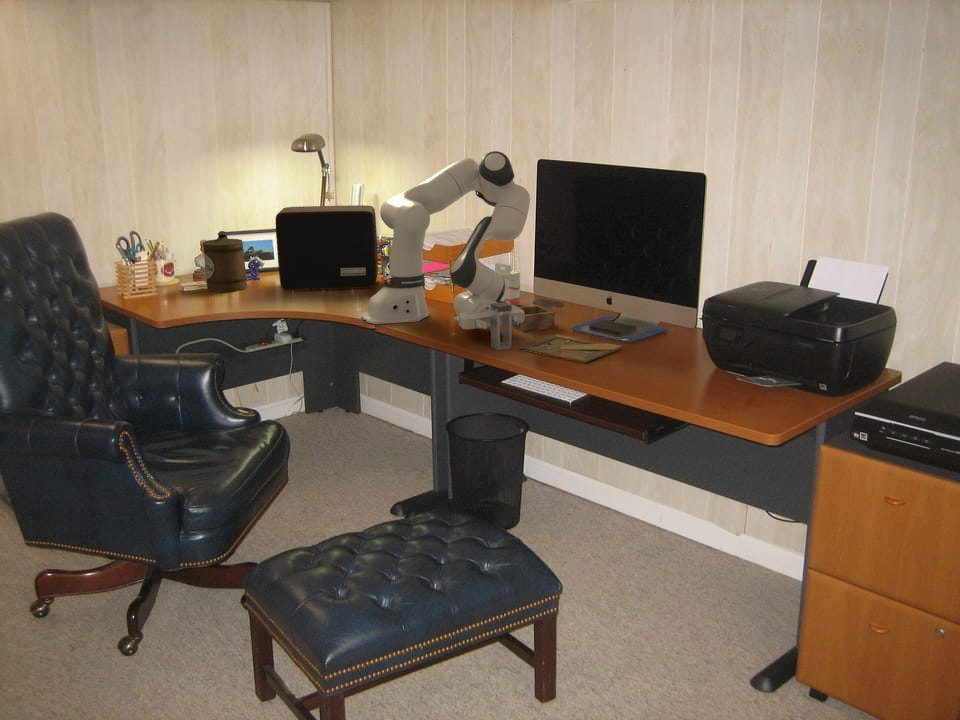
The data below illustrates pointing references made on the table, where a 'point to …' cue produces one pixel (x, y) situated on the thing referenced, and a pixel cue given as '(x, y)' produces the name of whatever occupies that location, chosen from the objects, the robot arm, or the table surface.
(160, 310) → the table surface
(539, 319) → the box
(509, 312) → the grey lantern
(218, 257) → the wooden container
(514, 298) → the ink cartridge box
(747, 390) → the table surface
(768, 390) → the table surface
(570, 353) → the picture frame
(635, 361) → the table surface
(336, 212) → the radio
